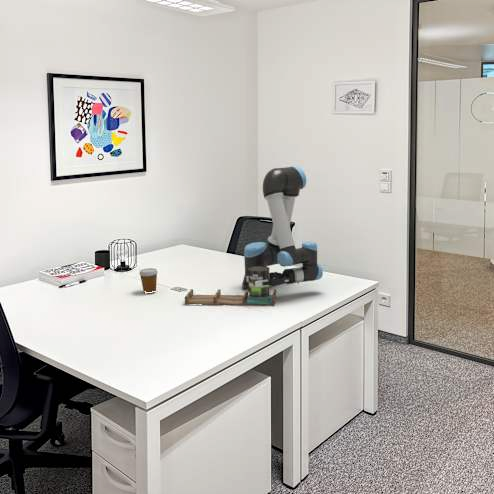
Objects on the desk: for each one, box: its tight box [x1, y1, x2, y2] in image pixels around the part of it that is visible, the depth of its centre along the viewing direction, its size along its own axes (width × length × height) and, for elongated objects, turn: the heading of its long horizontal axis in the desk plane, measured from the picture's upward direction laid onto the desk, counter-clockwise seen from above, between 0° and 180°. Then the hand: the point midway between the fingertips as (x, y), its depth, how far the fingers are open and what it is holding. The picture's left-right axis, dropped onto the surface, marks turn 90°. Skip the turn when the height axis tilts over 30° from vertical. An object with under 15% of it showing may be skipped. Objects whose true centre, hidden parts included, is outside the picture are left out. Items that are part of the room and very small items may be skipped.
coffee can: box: [248, 266, 271, 297], centre depth 287 cm, size 10×10×14 cm
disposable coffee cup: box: [139, 267, 159, 292], centre depth 310 cm, size 10×10×12 cm
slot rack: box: [184, 288, 277, 307], centre depth 291 cm, size 14×43×4 cm, turn 82°
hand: (251, 281), depth 286 cm, fingers closed on coffee can, 10 cm apart
